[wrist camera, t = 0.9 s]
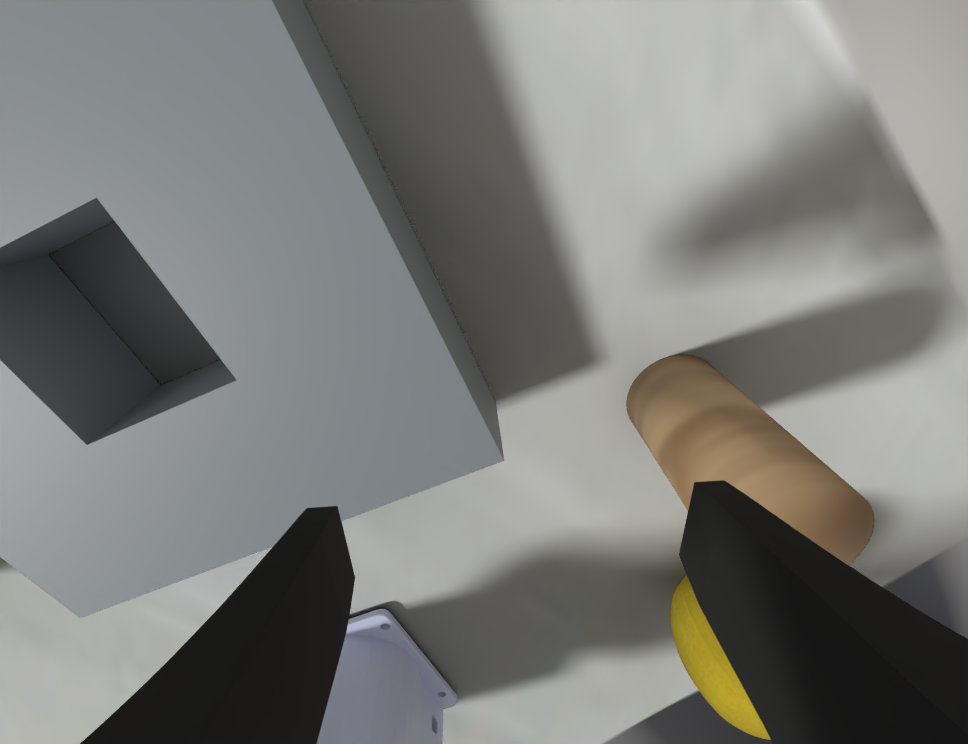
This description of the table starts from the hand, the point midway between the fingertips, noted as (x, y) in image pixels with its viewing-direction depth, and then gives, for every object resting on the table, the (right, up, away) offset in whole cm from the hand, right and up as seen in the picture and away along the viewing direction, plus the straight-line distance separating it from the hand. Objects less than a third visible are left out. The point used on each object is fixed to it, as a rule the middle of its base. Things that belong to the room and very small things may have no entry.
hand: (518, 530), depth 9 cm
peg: (+7, +2, +10) cm, 13 cm away
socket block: (-12, +6, +7) cm, 15 cm away
